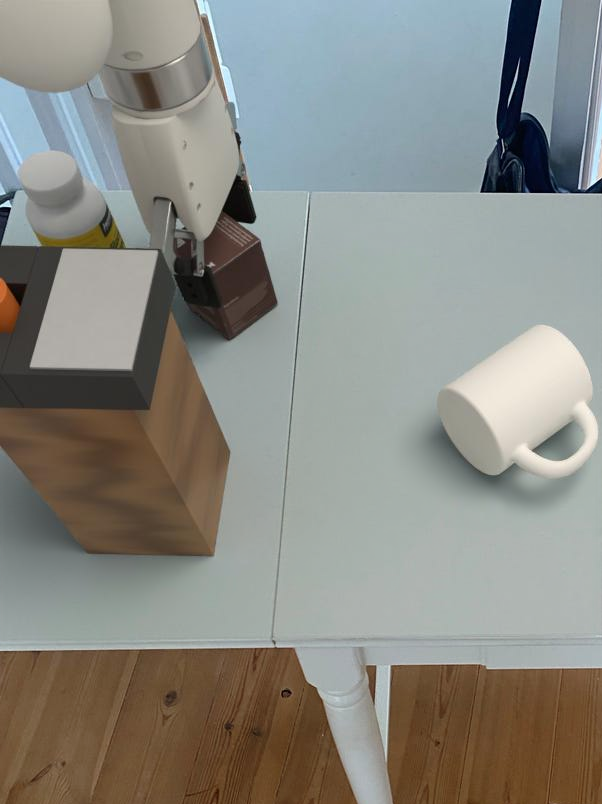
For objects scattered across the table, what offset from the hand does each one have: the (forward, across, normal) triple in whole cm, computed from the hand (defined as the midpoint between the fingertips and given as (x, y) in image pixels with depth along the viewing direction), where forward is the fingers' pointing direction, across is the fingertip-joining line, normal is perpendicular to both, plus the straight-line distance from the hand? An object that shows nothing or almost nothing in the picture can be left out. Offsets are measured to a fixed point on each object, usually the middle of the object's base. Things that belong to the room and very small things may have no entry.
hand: (222, 260), depth 75 cm
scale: (-13, +21, 0) cm, 25 cm away
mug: (+5, +10, +29) cm, 31 cm away
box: (+5, 0, 0) cm, 5 cm away
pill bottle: (+5, 0, -13) cm, 14 cm away
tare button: (-15, +22, -3) cm, 26 cm away
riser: (+5, +21, 0) cm, 22 cm away
